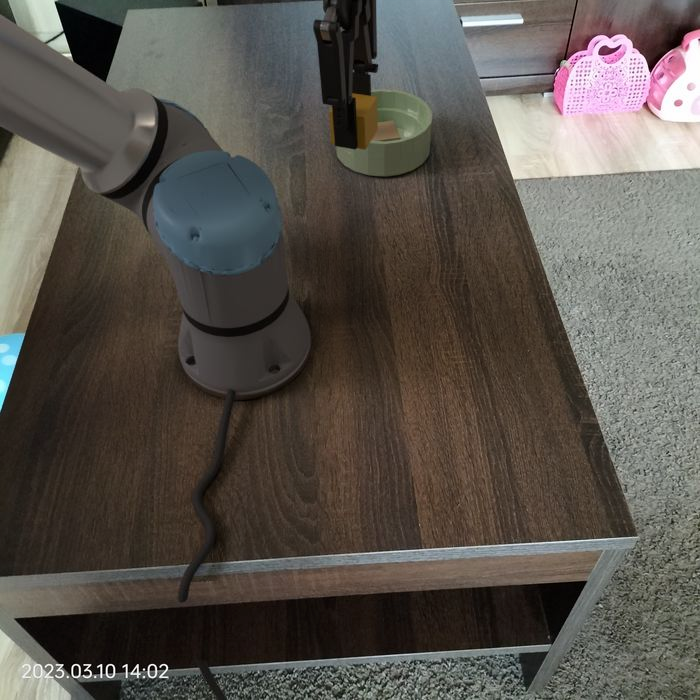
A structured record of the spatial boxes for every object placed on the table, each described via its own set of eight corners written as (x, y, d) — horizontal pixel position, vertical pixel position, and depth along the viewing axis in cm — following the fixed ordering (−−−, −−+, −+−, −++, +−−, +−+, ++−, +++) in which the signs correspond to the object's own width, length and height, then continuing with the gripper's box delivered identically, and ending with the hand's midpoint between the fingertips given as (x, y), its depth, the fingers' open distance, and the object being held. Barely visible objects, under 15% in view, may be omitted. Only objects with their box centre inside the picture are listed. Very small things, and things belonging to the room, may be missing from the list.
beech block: (400, 163, 107) (401, 137, 103) (370, 168, 106) (370, 141, 103) (393, 146, 110) (393, 120, 106) (363, 150, 109) (363, 124, 106)
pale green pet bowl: (425, 182, 104) (427, 146, 100) (328, 175, 106) (326, 139, 102) (433, 127, 114) (435, 91, 109) (343, 121, 115) (342, 86, 111)
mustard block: (365, 149, 88) (364, 117, 85) (331, 143, 89) (328, 111, 86) (377, 129, 91) (377, 96, 87) (344, 123, 92) (342, 91, 88)
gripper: (348, -28, 66) (358, 182, 84) (406, -100, 76) (404, 101, 94) (272, -37, 68) (298, 170, 86) (339, -106, 78) (349, 92, 96)
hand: (353, 133), depth 90 cm, fingers closed on mustard block, 4 cm apart
